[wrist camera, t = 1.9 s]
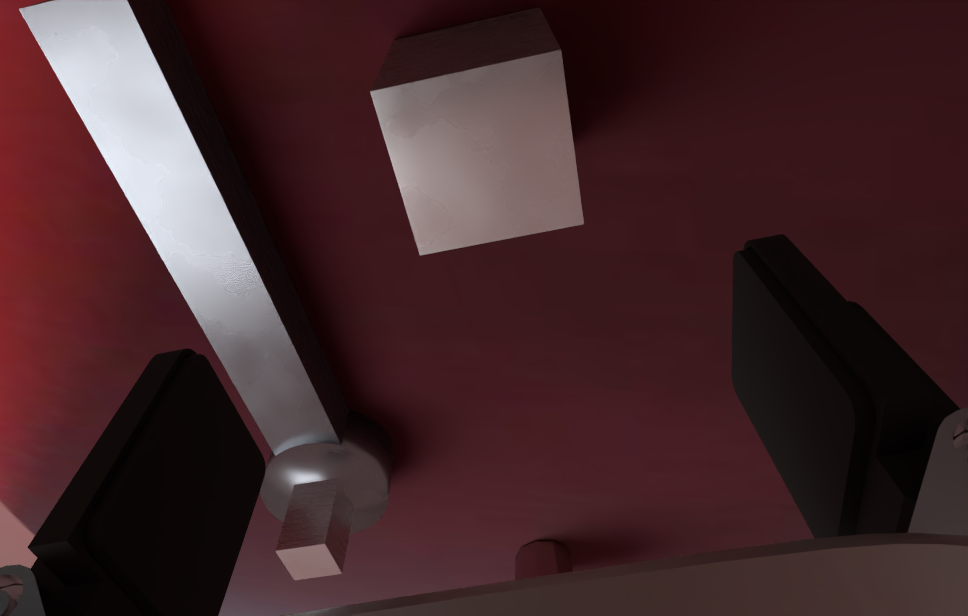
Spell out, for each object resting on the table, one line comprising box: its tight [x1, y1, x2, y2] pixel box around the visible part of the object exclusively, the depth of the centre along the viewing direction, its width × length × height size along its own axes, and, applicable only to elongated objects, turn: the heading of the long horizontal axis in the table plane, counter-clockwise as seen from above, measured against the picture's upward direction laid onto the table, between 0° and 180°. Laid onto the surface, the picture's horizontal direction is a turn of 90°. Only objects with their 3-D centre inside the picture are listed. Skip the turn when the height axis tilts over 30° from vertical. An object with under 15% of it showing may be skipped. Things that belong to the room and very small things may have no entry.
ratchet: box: [19, 0, 394, 580], centre depth 25 cm, size 25×6×6 cm, turn 12°
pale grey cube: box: [370, 7, 584, 255], centre depth 20 cm, size 5×5×6 cm
